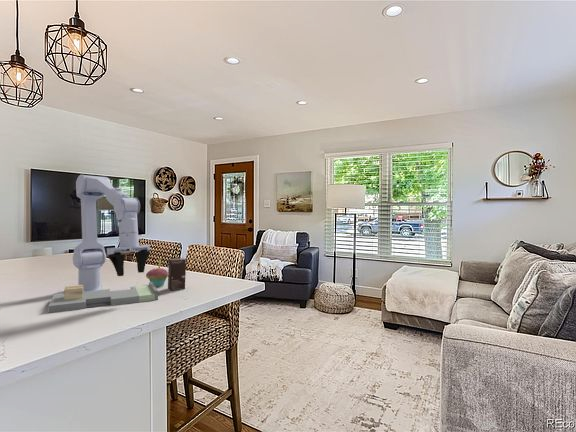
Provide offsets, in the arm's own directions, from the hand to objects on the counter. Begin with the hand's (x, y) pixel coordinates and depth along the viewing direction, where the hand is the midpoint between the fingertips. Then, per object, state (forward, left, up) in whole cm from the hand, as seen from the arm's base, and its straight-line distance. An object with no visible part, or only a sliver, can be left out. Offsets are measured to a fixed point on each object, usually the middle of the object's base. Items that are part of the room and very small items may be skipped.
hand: (131, 274), depth 106 cm
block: (-9, -16, -8) cm, 20 cm away
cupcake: (-24, +12, -10) cm, 28 cm away
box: (-15, +18, -10) cm, 25 cm away
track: (-9, -7, -10) cm, 16 cm away
